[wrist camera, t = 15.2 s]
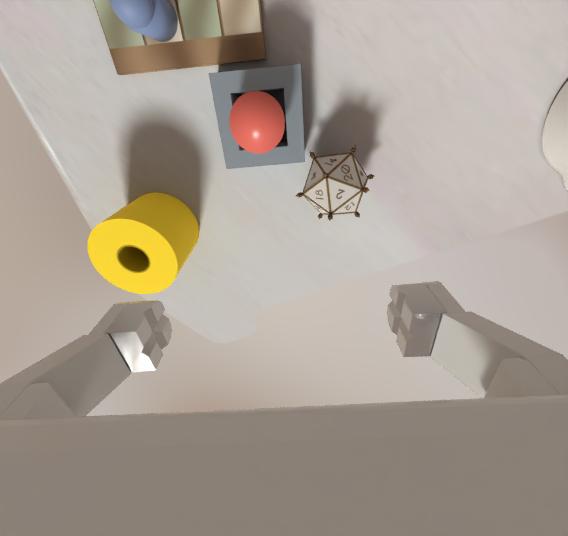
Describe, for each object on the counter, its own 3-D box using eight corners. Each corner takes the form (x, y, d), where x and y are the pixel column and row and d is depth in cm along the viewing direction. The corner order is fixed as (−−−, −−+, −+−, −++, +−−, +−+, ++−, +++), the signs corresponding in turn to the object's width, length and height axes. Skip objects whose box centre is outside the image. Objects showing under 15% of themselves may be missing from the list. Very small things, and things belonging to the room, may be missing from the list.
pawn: (173, -7, 26) (139, -39, 20) (180, 42, 28) (151, 27, 22) (135, -8, 26) (88, -39, 20) (145, 42, 28) (106, 27, 22)
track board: (255, -50, 25) (254, -55, 24) (265, 59, 29) (265, 58, 29) (88, -28, 26) (81, -33, 25) (121, 74, 30) (116, 74, 29)
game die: (315, 165, 39) (287, 136, 30) (377, 157, 35) (368, 122, 26) (313, 228, 39) (285, 218, 30) (375, 226, 36) (365, 215, 27)
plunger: (282, 89, 30) (282, 88, 24) (286, 141, 33) (286, 151, 27) (236, 94, 30) (224, 93, 24) (243, 145, 33) (234, 155, 27)
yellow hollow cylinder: (124, 243, 41) (85, 278, 33) (132, 180, 36) (89, 204, 28) (190, 265, 43) (169, 303, 35) (206, 209, 38) (185, 238, 30)
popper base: (299, 67, 30) (300, 63, 26) (303, 155, 34) (304, 161, 31) (217, 76, 30) (208, 73, 27) (232, 161, 35) (226, 168, 32)
